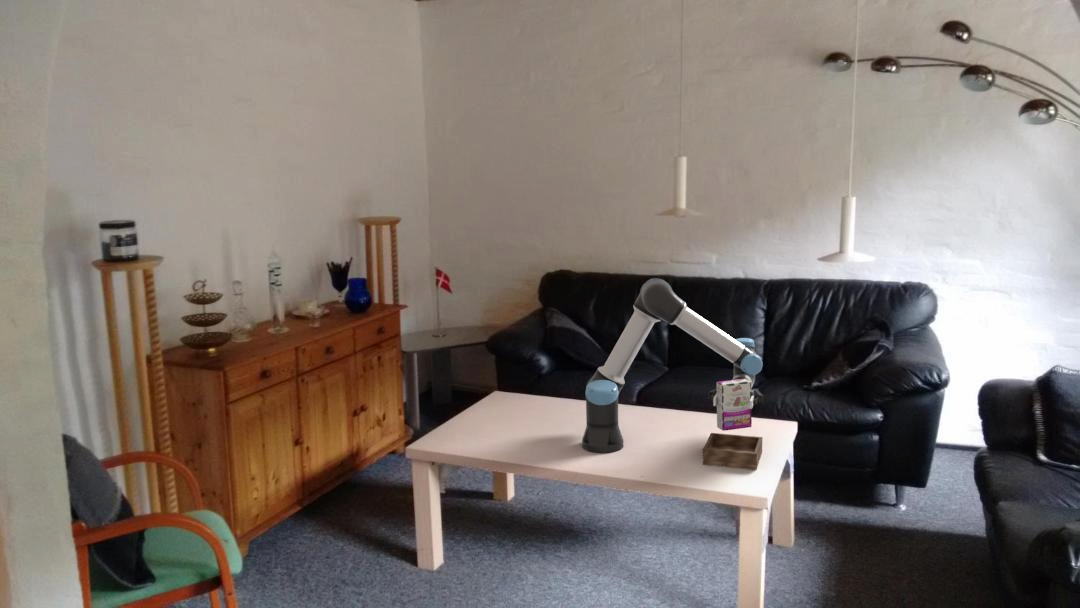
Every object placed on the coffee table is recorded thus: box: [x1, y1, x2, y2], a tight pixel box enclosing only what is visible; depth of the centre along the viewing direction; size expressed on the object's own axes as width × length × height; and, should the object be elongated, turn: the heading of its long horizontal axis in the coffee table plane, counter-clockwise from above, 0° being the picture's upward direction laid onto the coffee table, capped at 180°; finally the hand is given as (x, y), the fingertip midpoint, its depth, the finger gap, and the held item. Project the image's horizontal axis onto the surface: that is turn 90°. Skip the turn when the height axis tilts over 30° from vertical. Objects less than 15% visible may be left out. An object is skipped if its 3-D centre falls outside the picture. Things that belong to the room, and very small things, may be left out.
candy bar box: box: [716, 379, 753, 432], centre depth 297 cm, size 11×5×16 cm, turn 105°
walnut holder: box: [702, 432, 763, 471], centre depth 300 cm, size 18×18×6 cm
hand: (732, 403), depth 293 cm, fingers closed on candy bar box, 11 cm apart
